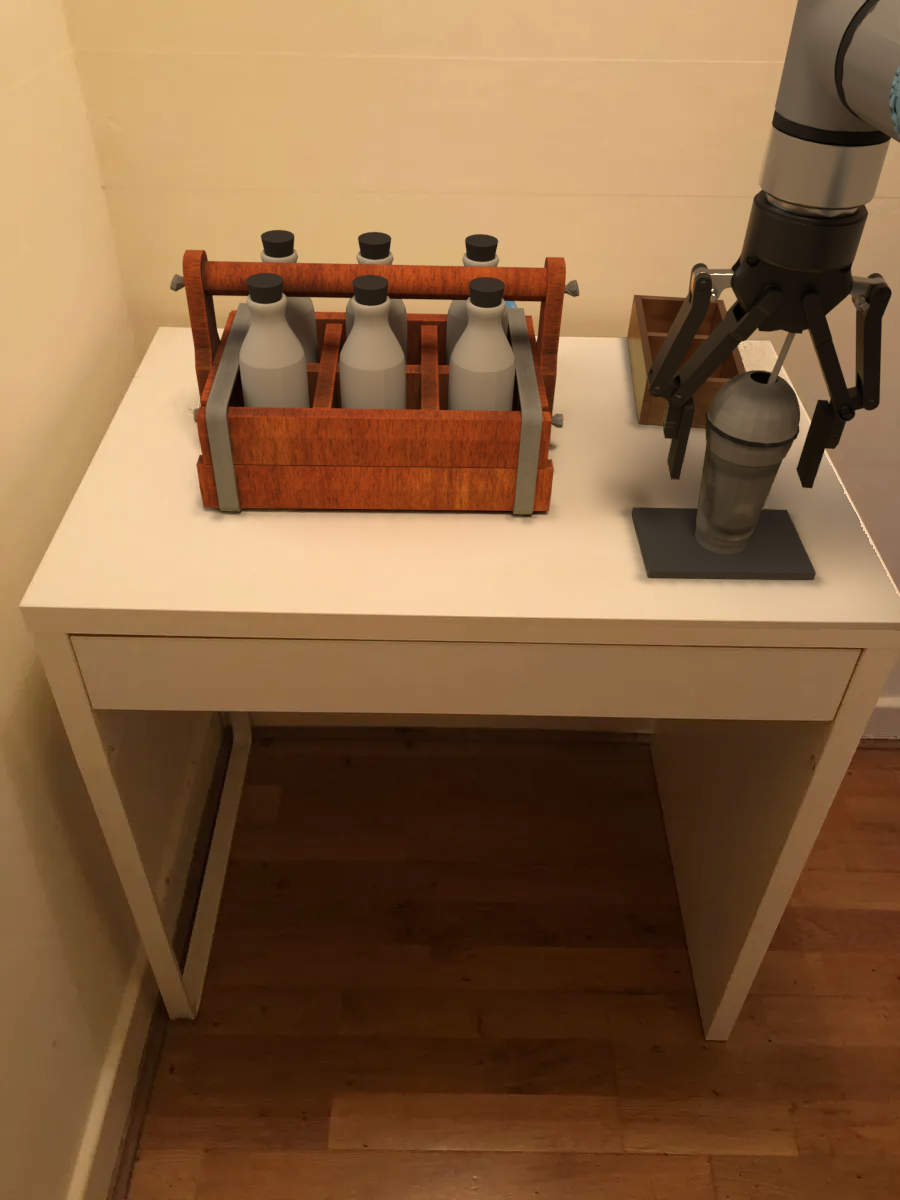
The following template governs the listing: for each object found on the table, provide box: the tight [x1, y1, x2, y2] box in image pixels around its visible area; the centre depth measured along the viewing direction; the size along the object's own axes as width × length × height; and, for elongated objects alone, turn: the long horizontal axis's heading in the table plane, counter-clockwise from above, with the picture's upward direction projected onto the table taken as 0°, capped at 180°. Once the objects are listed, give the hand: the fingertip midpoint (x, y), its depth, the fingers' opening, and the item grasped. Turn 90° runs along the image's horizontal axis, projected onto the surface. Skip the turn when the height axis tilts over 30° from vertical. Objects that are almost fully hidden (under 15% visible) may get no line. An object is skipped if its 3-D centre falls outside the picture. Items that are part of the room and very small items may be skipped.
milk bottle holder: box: [169, 229, 580, 515], centre depth 88 cm, size 21×35×19 cm, turn 91°
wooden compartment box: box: [626, 294, 747, 429], centre depth 106 cm, size 10×19×5 cm, turn 176°
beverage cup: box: [695, 332, 801, 554], centre depth 78 cm, size 7×7×20 cm
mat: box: [631, 506, 817, 581], centre depth 85 cm, size 14×9×1 cm, turn 91°
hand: (738, 474), depth 80 cm, fingers open, 10 cm apart
